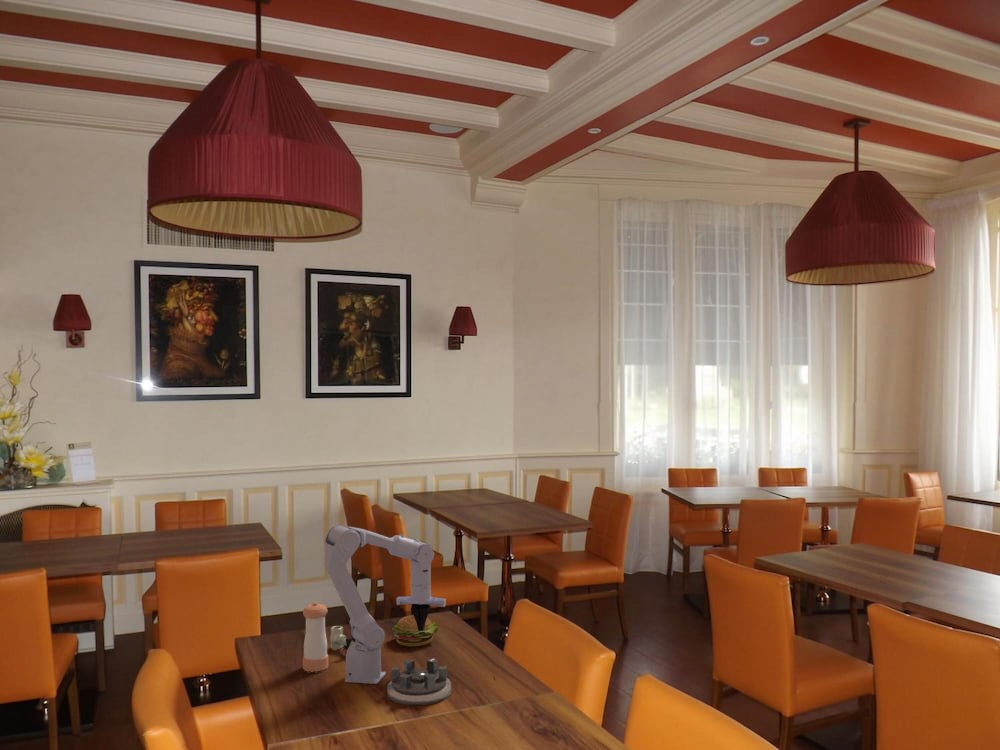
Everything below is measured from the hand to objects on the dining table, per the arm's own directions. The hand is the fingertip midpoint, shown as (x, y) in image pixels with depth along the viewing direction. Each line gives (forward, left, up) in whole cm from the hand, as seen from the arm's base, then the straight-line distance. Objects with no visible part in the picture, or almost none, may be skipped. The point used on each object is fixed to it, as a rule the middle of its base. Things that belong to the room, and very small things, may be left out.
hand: (421, 629), depth 224 cm
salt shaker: (-30, -7, -11) cm, 33 cm away
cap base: (+5, -19, -10) cm, 22 cm away
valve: (-27, +8, -11) cm, 30 cm away
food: (-8, +20, -11) cm, 24 cm away
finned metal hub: (+5, -19, -8) cm, 21 cm away
